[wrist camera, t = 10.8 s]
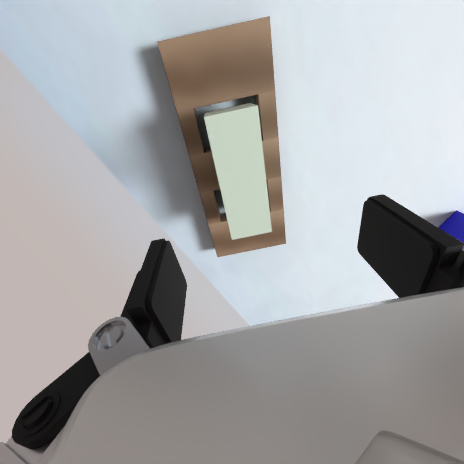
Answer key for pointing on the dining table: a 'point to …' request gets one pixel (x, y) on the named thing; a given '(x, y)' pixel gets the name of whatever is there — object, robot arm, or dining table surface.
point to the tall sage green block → (240, 168)
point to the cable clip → (454, 226)
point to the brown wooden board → (220, 90)
